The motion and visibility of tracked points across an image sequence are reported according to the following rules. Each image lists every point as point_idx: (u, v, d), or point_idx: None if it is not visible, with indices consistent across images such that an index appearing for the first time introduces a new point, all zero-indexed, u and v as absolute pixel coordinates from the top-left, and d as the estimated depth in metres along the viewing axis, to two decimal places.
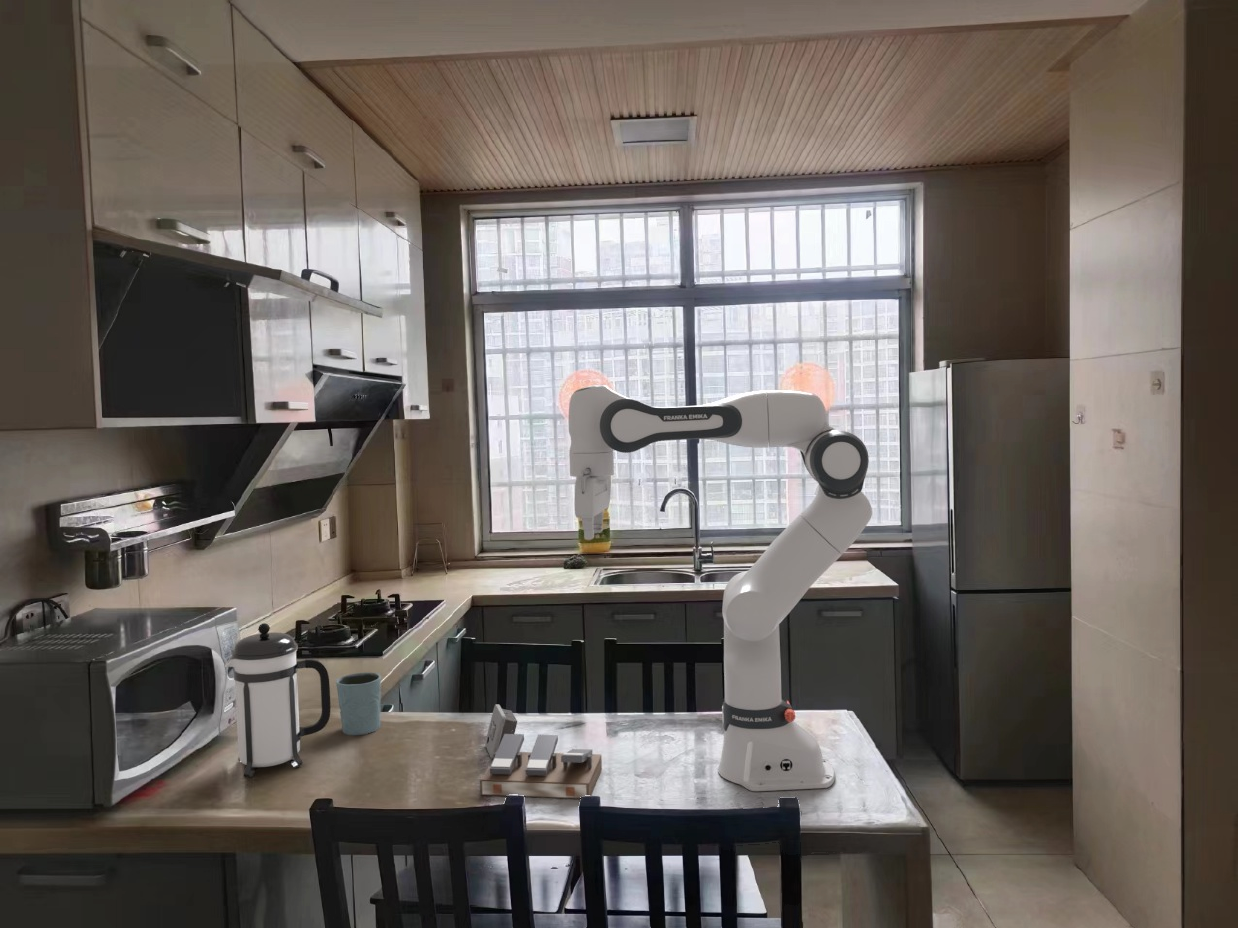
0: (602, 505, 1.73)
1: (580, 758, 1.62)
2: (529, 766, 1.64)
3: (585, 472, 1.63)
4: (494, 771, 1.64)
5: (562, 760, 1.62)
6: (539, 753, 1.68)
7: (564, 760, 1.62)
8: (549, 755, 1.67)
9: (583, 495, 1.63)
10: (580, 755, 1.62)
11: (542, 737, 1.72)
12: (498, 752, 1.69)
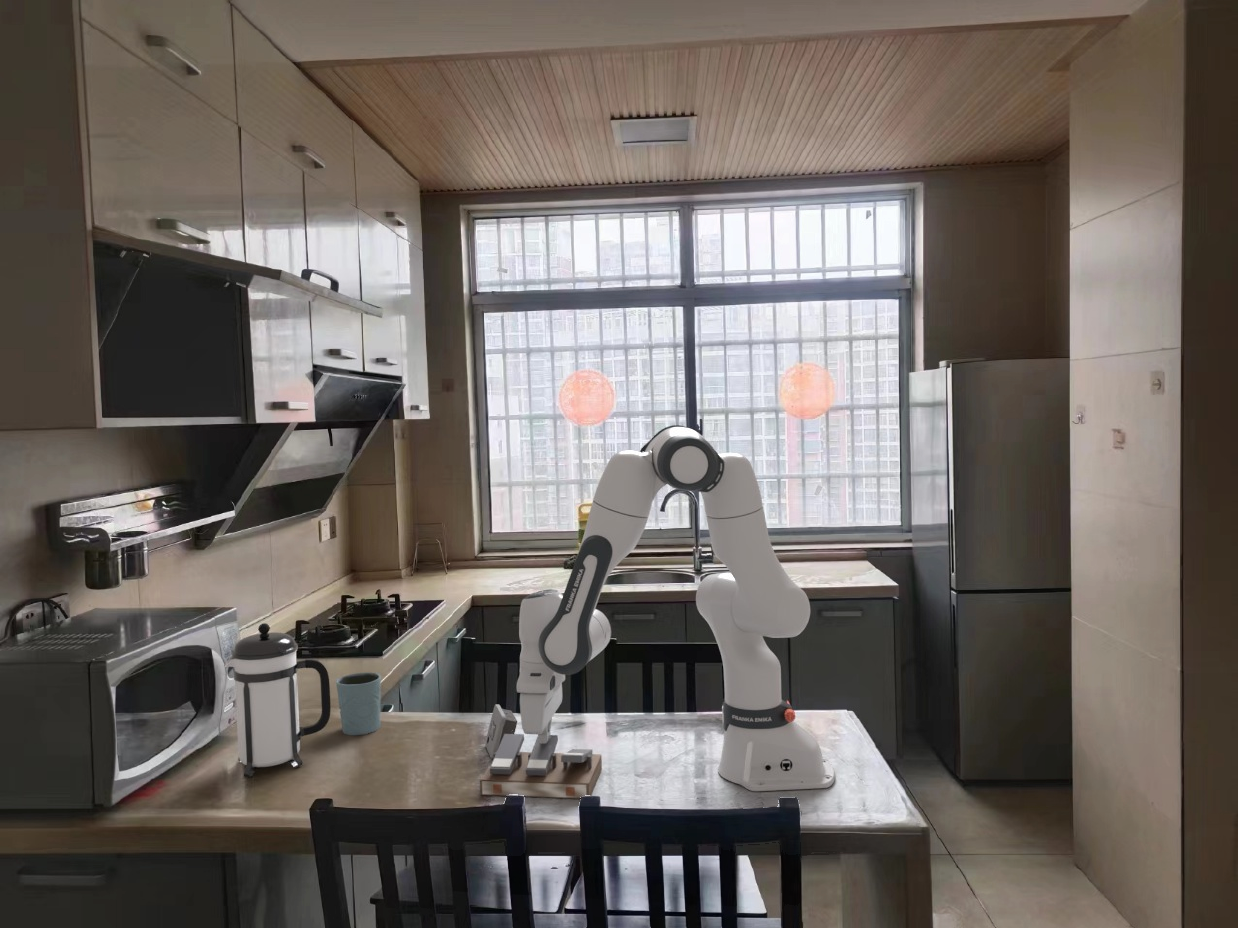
0: None
1: (580, 758, 1.62)
2: (529, 766, 1.64)
3: None
4: (494, 771, 1.64)
5: (562, 760, 1.62)
6: (539, 753, 1.68)
7: (564, 760, 1.62)
8: (549, 755, 1.67)
9: None
10: (580, 755, 1.62)
11: None
12: (498, 752, 1.69)
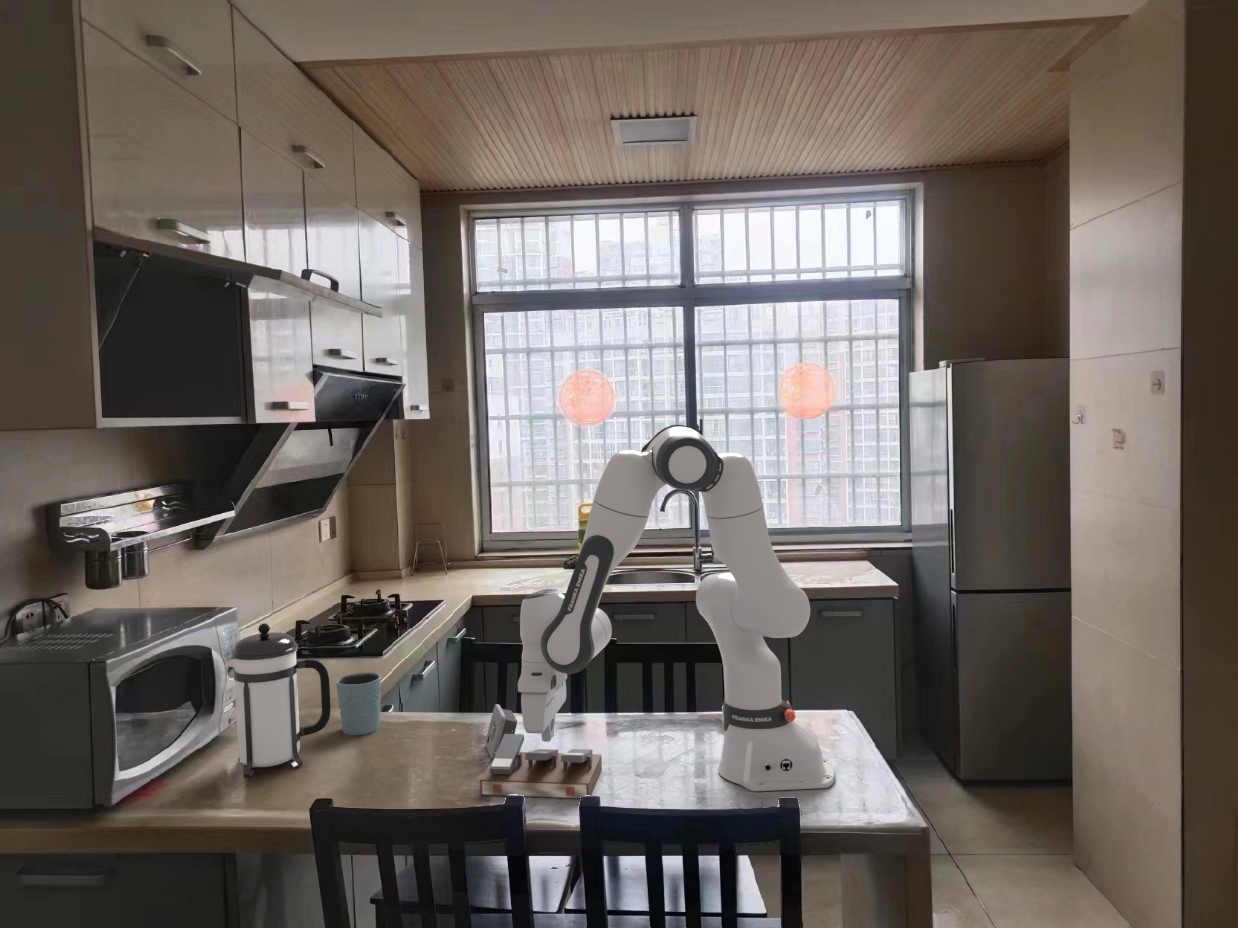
0: None
1: (580, 758, 1.62)
2: (529, 752, 1.64)
3: None
4: (494, 771, 1.64)
5: (562, 760, 1.62)
6: (540, 751, 1.68)
7: (564, 760, 1.62)
8: (549, 752, 1.67)
9: None
10: (580, 755, 1.62)
11: (543, 749, 1.73)
12: (498, 752, 1.69)
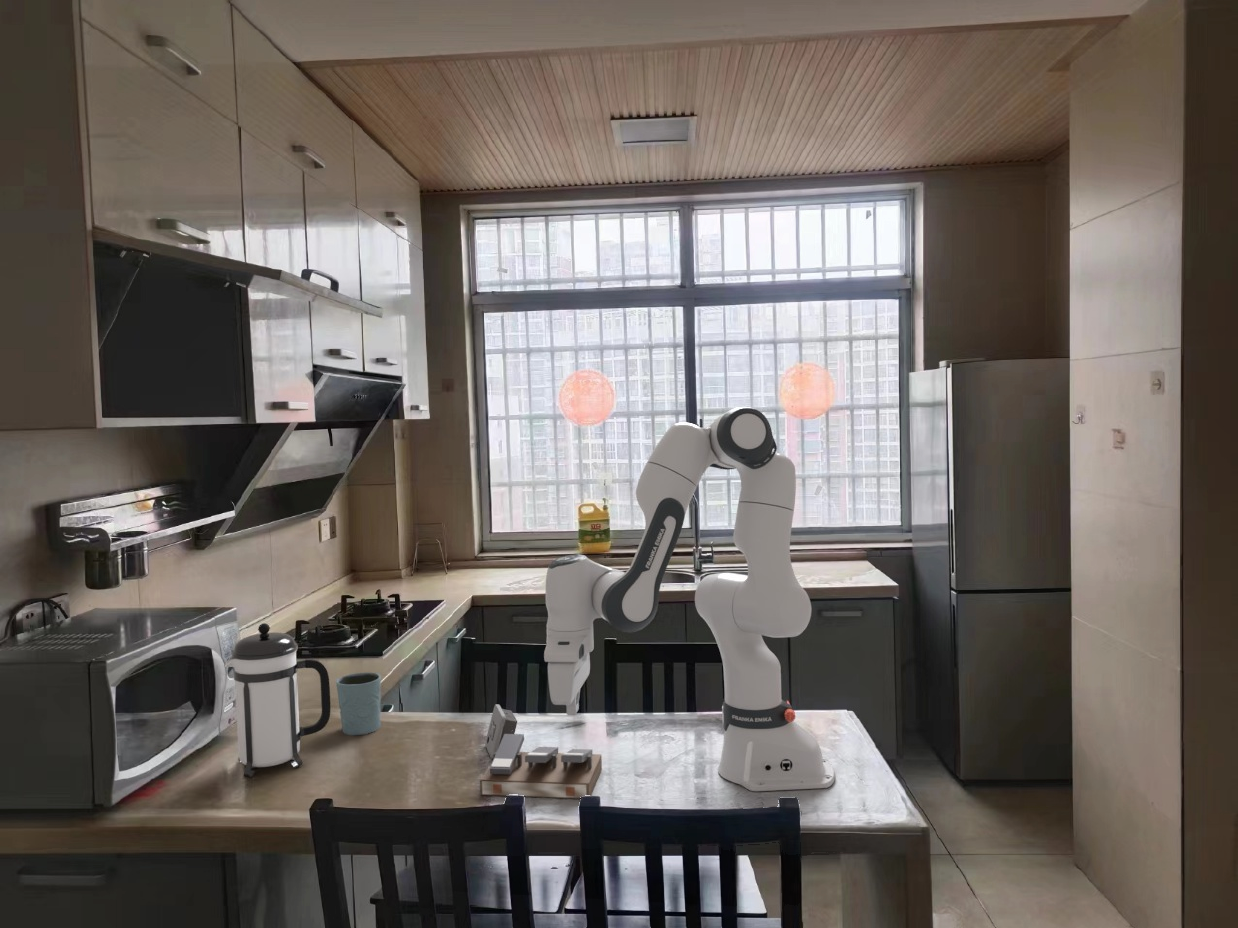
0: None
1: (580, 758, 1.62)
2: (529, 754, 1.64)
3: None
4: (494, 771, 1.64)
5: (562, 760, 1.62)
6: (540, 751, 1.68)
7: (564, 760, 1.62)
8: (549, 752, 1.67)
9: None
10: (580, 755, 1.62)
11: (543, 747, 1.73)
12: (498, 752, 1.69)
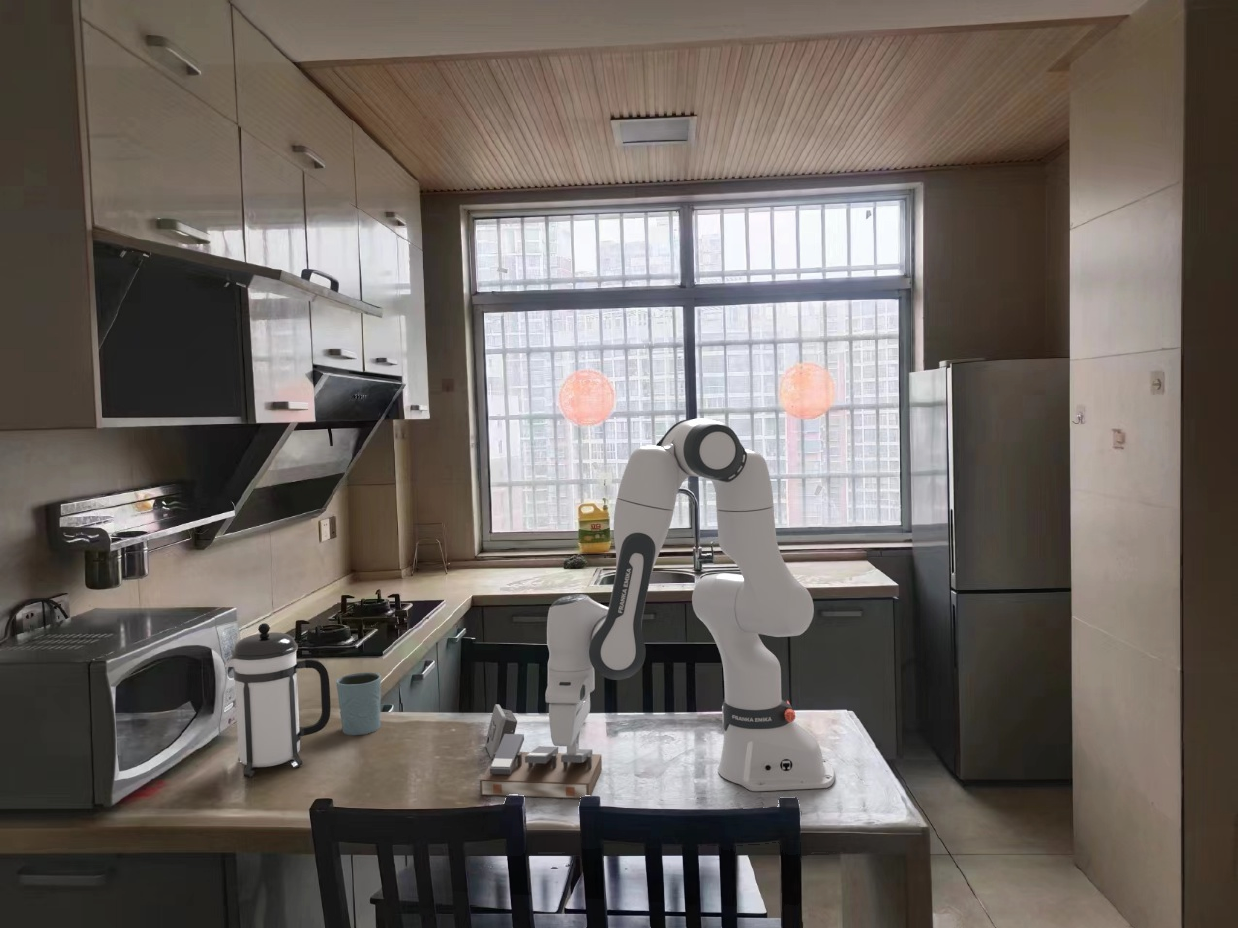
0: None
1: (580, 758, 1.62)
2: (529, 754, 1.64)
3: None
4: (494, 771, 1.64)
5: (562, 760, 1.62)
6: (540, 751, 1.68)
7: (564, 760, 1.62)
8: (549, 752, 1.67)
9: None
10: (580, 755, 1.62)
11: (543, 747, 1.73)
12: (498, 752, 1.69)
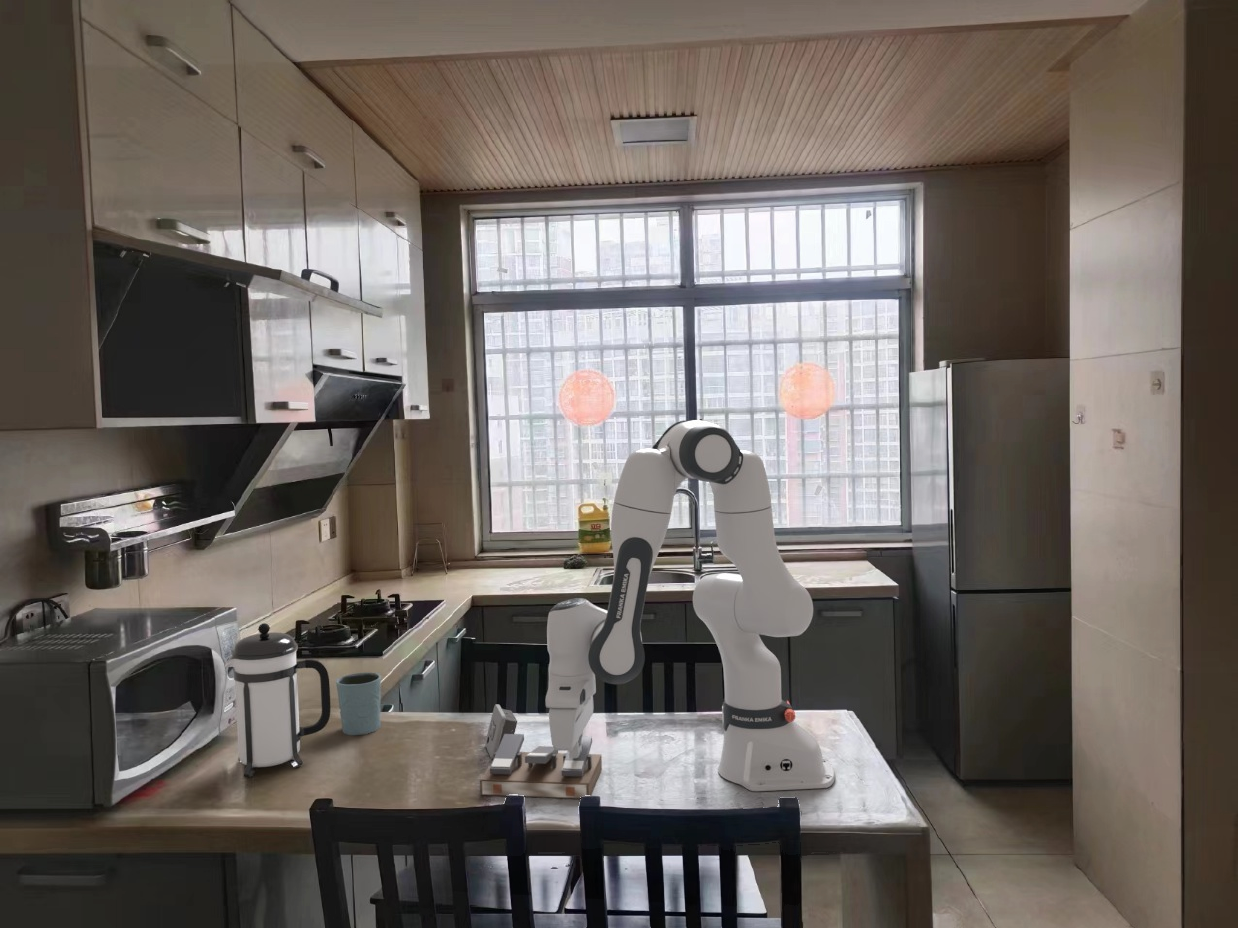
0: None
1: (580, 773, 1.62)
2: (529, 754, 1.64)
3: None
4: (494, 771, 1.64)
5: (563, 774, 1.62)
6: (540, 751, 1.68)
7: (565, 774, 1.62)
8: (549, 752, 1.67)
9: None
10: (580, 769, 1.62)
11: (543, 747, 1.73)
12: (498, 752, 1.69)
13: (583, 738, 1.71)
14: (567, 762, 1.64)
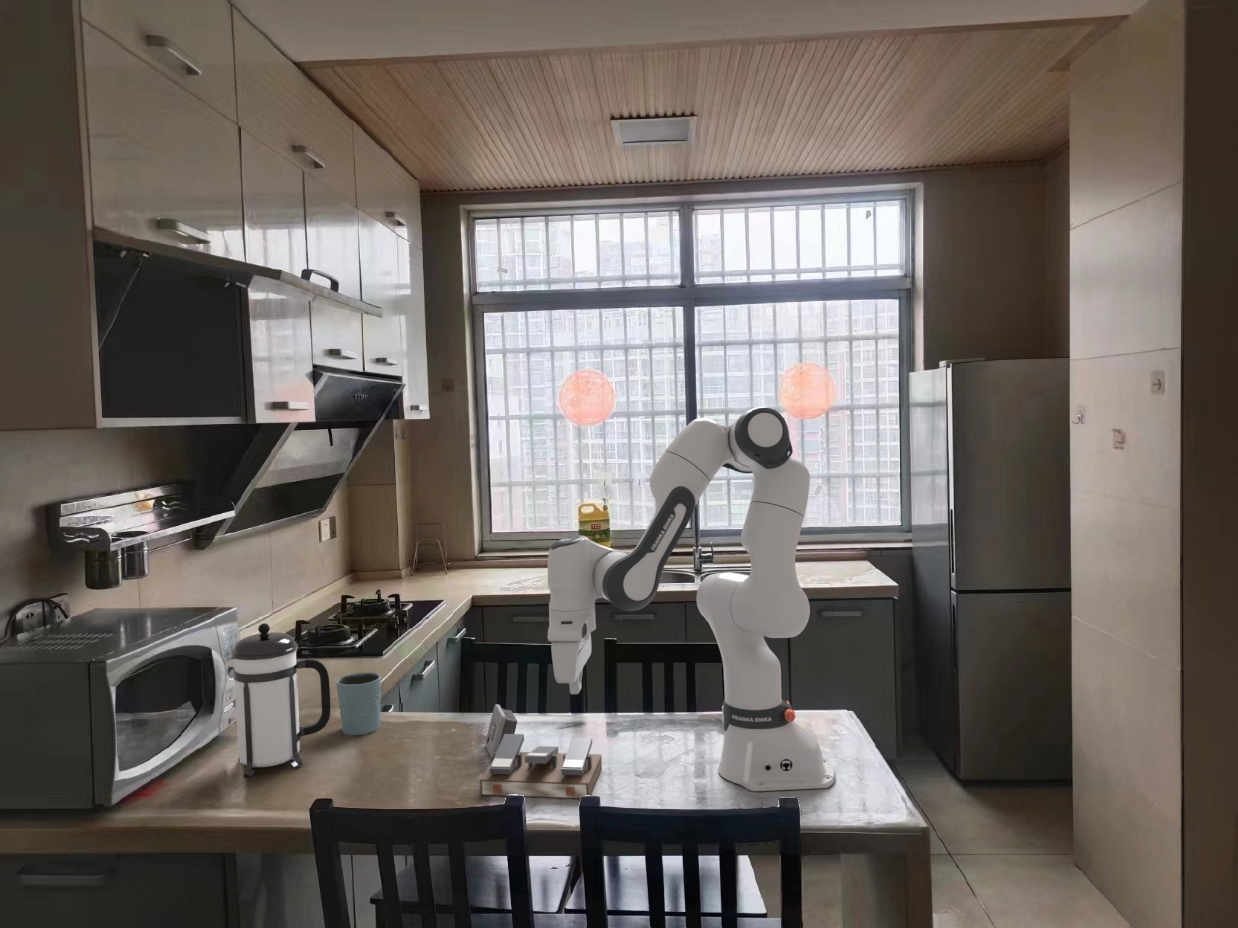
0: None
1: (580, 771, 1.62)
2: (529, 754, 1.64)
3: None
4: (494, 771, 1.64)
5: (562, 773, 1.62)
6: (540, 751, 1.68)
7: (564, 773, 1.62)
8: (549, 752, 1.67)
9: None
10: (580, 767, 1.62)
11: (543, 747, 1.73)
12: (498, 752, 1.69)
13: (583, 739, 1.72)
14: (567, 761, 1.64)
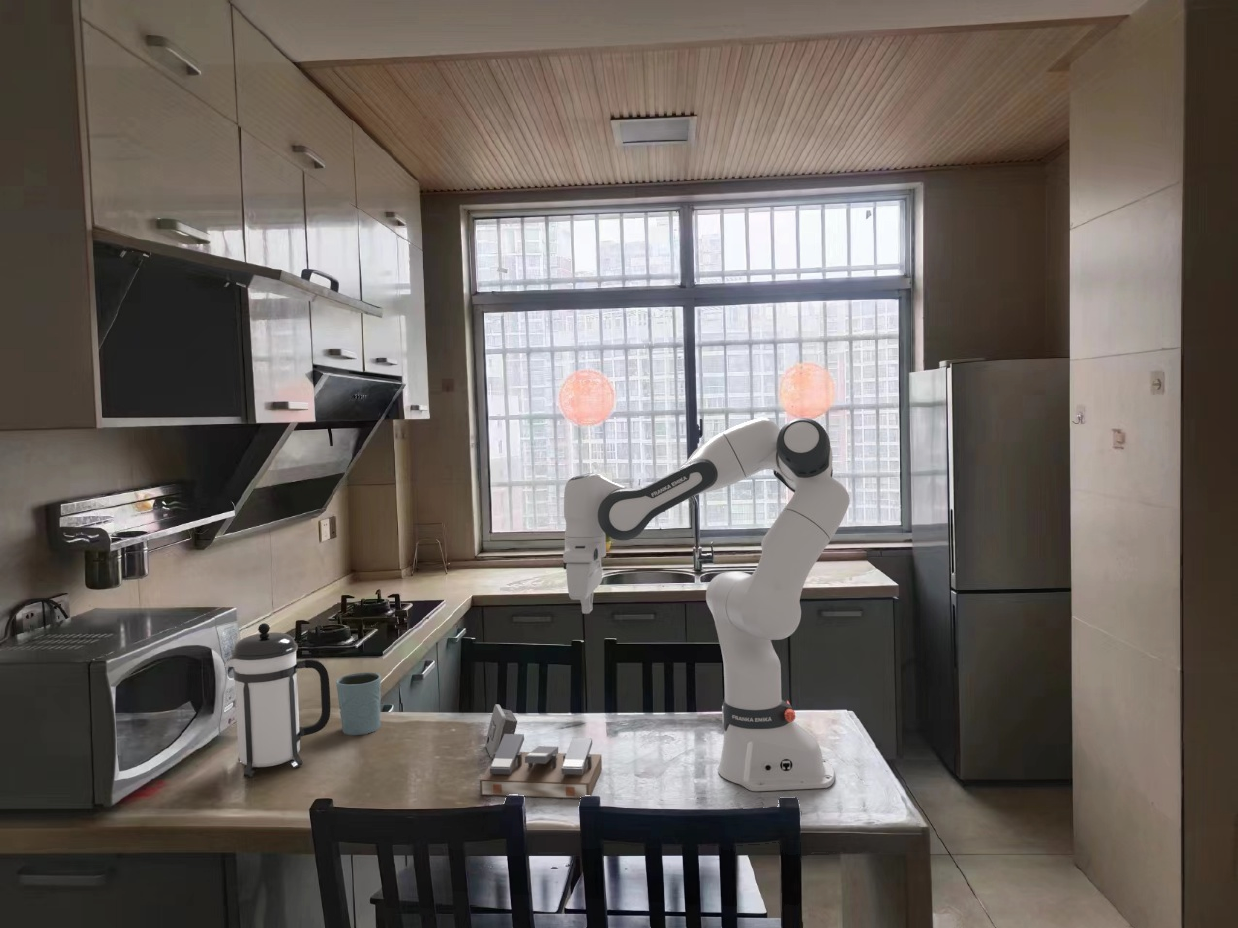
0: None
1: (580, 771, 1.62)
2: (529, 754, 1.64)
3: None
4: (494, 771, 1.64)
5: (562, 772, 1.62)
6: (540, 751, 1.68)
7: (564, 772, 1.62)
8: (549, 752, 1.67)
9: None
10: (580, 767, 1.62)
11: (543, 747, 1.73)
12: (498, 752, 1.69)
13: (583, 739, 1.72)
14: (567, 761, 1.64)
